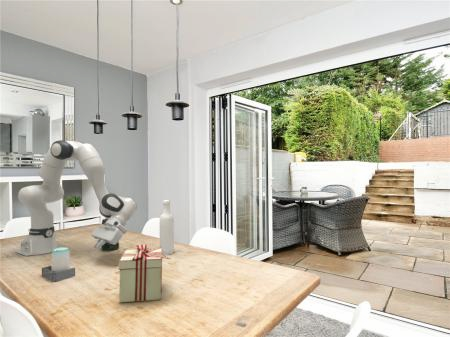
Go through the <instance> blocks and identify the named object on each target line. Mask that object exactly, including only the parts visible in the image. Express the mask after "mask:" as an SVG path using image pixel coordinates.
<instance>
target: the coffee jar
mask: <svg viewBox="0 0 450 337" xmlns="http://www.w3.org/2000/svg"><path fill="white" fill-rule="evenodd" d="M108 219H109V218H103V219H102V221H101V224H104V223H105V222H106V221H107V220H108ZM100 248H101V249H100V250H102V251H103V252H110V251H116V250H118V249H119V248H120V244H119V242H118V243H116V244H115V245H113V244H110V243H107V242H106V243H105V244H104V245H102V246H101V247H100Z"/></svg>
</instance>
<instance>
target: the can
mask: <svg viewBox="0 0 450 337" xmlns="http://www.w3.org/2000/svg"><path fill="white" fill-rule="evenodd" d="M50 256H51V266H52V271H53V272H55V273H56V272H59V271H63V270H67V269H71V268H70V266H71V265H70V262H71V260H70V258H71V252H70V250H69V248H68V247H66V246H65V247H58V248H56V249H54V250H53V252H51V255H50Z"/></svg>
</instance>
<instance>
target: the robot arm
mask: <svg viewBox="0 0 450 337" xmlns="http://www.w3.org/2000/svg"><path fill="white" fill-rule="evenodd" d="M67 161H77V162H78V163H79V165H80V168H81V170H82V171H83V174H84V175H85V177H86V178H87V179H88V181H89V183H90V185H91V186H92V188H93V190H94V192H95V195H96V198H97V200H98V202H99V206H98V207H99V209H98V210H99V213H100V214H101V216H102V217H103V218H105V219H108V220H107V221H106V222H105V223H104V224H102V223H101V224H99V225H98V226H97V227H96V228H95V229H94V230H93V231H92V232H91V237H93V238H94V239H95V240H96V242H95V243H94V244H93V247H94V248H95V249H98V250H99V249H100V248H101V246H102V245H104V244H105V243H106V242H107V243H110V244H113V245H115V244H116V243H118V242H119V241H120V240H121V239H122V238H123V237H124V234H126V233H127V231H128V230H127V228H126V227H125V226H126V224H127V223H128V222H129V221H130V220H131V218H132V217H133V215H135V213H136V211H137V208H138V205H137V203H136V201H135V200H134V199H132V198H131V197H124V196H119V195H117V194H115V193H110V192H109V191H108V189H107V185H106V181H105V166H104V163H103V160H102V157H101V156H100V154H99V152H98V151H97V149H96V148H95V146H94V145H93V144H91V143H86V142H85V143H84V142H79V141H76V140H61V139H60V140H55V141H54V142H53V143H52V144H51V146H50V147H49V149H48V151H47V152H46V154H45V156H44V158H43V161H42V163H41V166H40V168H39V171H38V175H39V177H40V178H41V179H42V183H41V184H36V185H35V184H34V185H28V186H25V187H22V188H21V189H20V190H18V191H19V192H18V195H17V198H18V200H19V202H20V203H21V204H23V205H24V206H25V207H26V208H27V210H28V212H29V216H30V228H29V229H28V230H27V231H28V232H29V233H28V235H27V236H26V237H24V238H23V239H22V240H21V242H20V248H19V249H15V253H17V254H20V255H22V256H25V257H28V256H36V255H45V254H50V253H52V252H53V250H54V249H56V248H59V246H58V245H57V238H56V234H55V226H54V213H53V211H51V210H49V209H48V207H47V204H49V203H51V204H52V203H55V202H57V201H61V200H62V199H63V198H64V196H65V190H64V187H63V186H62V185H61V178H62V174H63V172H64V169H65V166H66V163H67Z"/></svg>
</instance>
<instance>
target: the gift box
mask: <svg viewBox="0 0 450 337" xmlns="http://www.w3.org/2000/svg"><path fill="white" fill-rule="evenodd" d="M161 248H162V247H161ZM163 259H166V260H170V259H171V257H167V255H163V254H162V249H160V247H147V244H146V243H145V244H138V245H136V249H126V250H124V252H123V253H122V256H121V258H120V259H119V261H118V270H119V291H118V292H119V298H118V300H119V301H118V302H119V303H130V302H131V303H132V302H143V301H144V302H145V301H146V302H147V301H155V300H161V297H162V296H161V294H162V282H163V280H162V279H163V275H162V274H163V272H162V270H163Z"/></svg>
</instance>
